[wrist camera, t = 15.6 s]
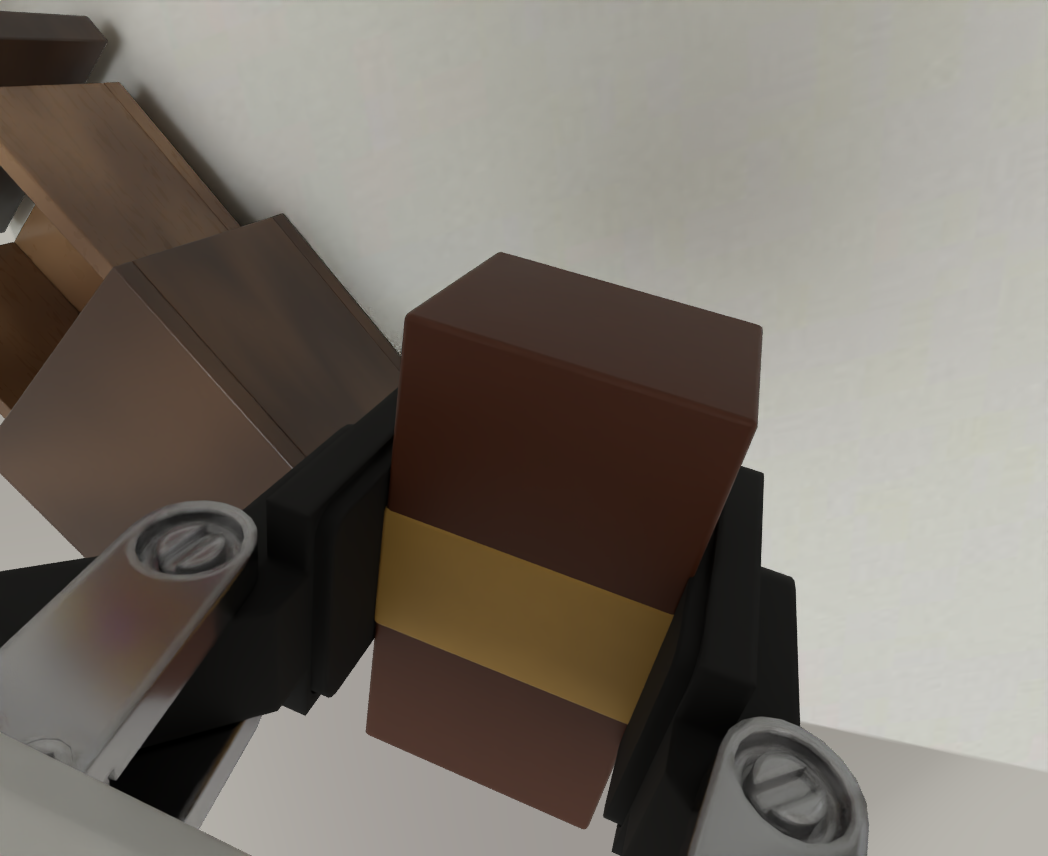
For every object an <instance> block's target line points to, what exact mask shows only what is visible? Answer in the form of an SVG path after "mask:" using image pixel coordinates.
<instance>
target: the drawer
mask: <svg viewBox="0 0 1048 856" xmlns="http://www.w3.org/2000/svg"><path fill="white" fill-rule="evenodd" d="M106 44H107V39H106V38H105V37H104V36H103V34H102V33H101V32H100V31H99V30H98V28H97V27H96V26H95V25H94V24H93V22H92V21H91V20H90V19H89V18H88V17H87V16H76V15H59V14H43V13H26V12H10V11H0V233H3V232H5V231H6V229H7V227H8V225H9V223H10V221H11V219H12V218H13V216H14V214H15V212H16V210H17V208H18V207H19V205H20V203H21V201H22V199H23V197H24V195H25V194H27V196H28V197H29V198H30V199H31V200H32V201H33V202H34V203H35V206H34V208H33V210H32V211H31V213H30V215H29V217H28V218H27V220H26V222H25V224H24V226H23V227H22V229H21V231H20V233H19V235H18V236H17V238H16V240H15V242H12V243H8V244H3V245H0V414H1V415H2V416H3V417H4V418H6V417H7V415H8V414H9V413H10V411H11V410H12V408H13V407H14V405H15V404H16V403H17V401H18V400H19V398H20V397H21V396H22V394H23V393H24V391H25V390H26V389H27V387H28V386H29V384H30V383H31V382H32V380H33V379H34V377H35V376H36V375H37V373H38V372H39V370H40V369H41V368H42V366H43V365H44V363H45V362H46V360H47V359H48V358H49V356H50V355H51V353H52V352H53V351H54V349H55V348H56V346H57V345H58V344H59V342H60V341H61V339H62V338H63V337H64V335H65V334H66V332H67V331H68V330H69V328H70V327H71V325H72V324H73V322H74V321H75V320H76V318H77V317H78V315H79V314H80V313H81V311H82V310H83V308H84V307H85V306H86V304H87V303H88V301H89V300H90V299H91V297H92V296H93V294H94V293H95V292H96V290H97V289H98V287H99V286H100V285H101V283H102V282H103V280H104V279H105V277H106V276H107V275H108V273H109V272H110V270H111V269H112V268H113V267H114V266H117V265H121V264H124V263H127V262H130V261H131V262H132V261H133V260H136V259H139V258H142V257H145V256H148V255H152V254H155V253H158V252H161V251H164V250H168V249H171V248H174V247H177V246H180V245H184V244H187V243H190V242H193V241H196V240H200V239H203V238H206V237H209V236H212V235H216V234H219V233H222V232H225V231H228V230H232V229H235V228H238V227H241V226H240V225H239V224H238V223H237V222H236V220H235V219H234V218H233V217H232V216H231V214H230V213H229V212H228V211H227V210H226V208H225V207H224V206H223V205H222V204H221V203H220V201H219V200H218V199H217V198H216V197H215V195H214V194H213V193H212V192H211V191H210V189H209V188H208V187H207V186H206V185H205V183H204V182H203V181H202V180H201V179H200V178H199V176H198V175H197V174H196V173H195V172H194V170H193V169H192V168H191V167H190V166H189V164H188V163H187V162H186V161H185V160H184V158H183V157H182V156H181V155H180V154H179V153H178V151H177V150H176V149H175V148H174V147H173V145H172V144H171V143H170V142H169V141H168V139H167V138H166V137H165V136H164V135H163V133H162V132H161V131H160V130H159V129H158V128H157V126H156V125H155V124H154V123H153V122H152V120H151V119H150V118H149V117H148V116H147V114H146V113H145V112H144V111H143V110H142V109H141V107H140V106H139V105H138V104H137V103H136V101H135V100H134V99H133V98H132V97H131V95H130V94H129V93H128V92H127V91H126V89H125V88H124V87H123V86H122V85H121V84H120V83H119V82H107V83H87V84H85V83H86V81H87V79H88V77H89V75H90V74H91V72H92V70H93V68H94V66H95V64H96V63H97V61H98V59H99V57H100V55H101V53H102V51H103V50H104V48H105V46H106Z"/></svg>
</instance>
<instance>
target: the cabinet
mask: <svg viewBox="0 0 1048 856" xmlns="http://www.w3.org/2000/svg"><path fill="white" fill-rule="evenodd" d="M400 364H401V356H400V355H399V354H398V353H397V352H396V350H395V349H394V348H393V347H392V346H391V344H390V343H389V342H388V341H387V339H386V338H385V337H384V336H383V335H382V333H381V332H380V331H379V330H378V329H377V327H376V326H375V325H374V324H373V322H372V321H371V320H370V319H369V318H368V316H367V315H366V314H365V313H364V312H363V310H362V309H361V308H360V307H359V305H358V304H357V303H356V302H355V301H354V299H353V298H352V297H351V296H350V294H349V293H348V292H347V291H346V290H345V288H344V287H343V286H342V285H341V284H340V282H339V281H338V280H337V279H336V277H335V276H334V275H333V274H332V273H331V271H330V270H329V269H328V268H327V267H326V265H325V264H324V263H323V262H322V260H321V259H320V258H319V257H318V256H317V254H316V253H315V252H314V251H313V250H312V248H311V247H310V246H309V245H308V243H307V242H306V241H305V240H304V239H303V237H302V236H301V235H300V234H299V232H298V231H297V230H296V229H295V228H294V226H293V225H292V224H291V223H290V222H289V220H288V219H287V218H286V217H285V215H284V214H280V215H276V216H273V217H270V218H267V219H264V220H260V221H257V222H254V223H251V224H248V225H244V226H241V227H238V228H235V229H232V230H228V231H225V232H222V233H219V234H216V235H212V236H209V237H206V238H203V239H200V240H196V241H193V242H190V243H187V244H184V245H180V246H177V247H174V248H171V249H168V250H164V251H161V252H158V253H155V254H152V255H148V256H145V257H142V258H139V259H136V260H133V261H132V262H131V261H130V262H127V263H124V264H121V265H117V266H114V267H113V268H112V269H111V270H110V272H109V273H108V275H107V276H106V277H105V279H104V280H103V282H102V283H101V285H100V286H99V287H98V289H97V290H96V292H95V293H94V294H93V296H92V297H91V299H90V300H89V301H88V303H87V304H86V306H85V307H84V308H83V310H82V311H81V313H80V314H79V315H78V317H77V318H76V320H75V321H74V322H73V324H72V325H71V327H70V328H69V330H68V331H67V332H66V334H65V335H64V337H63V338H62V339H61V341H60V342H59V344H58V345H57V346H56V348H55V349H54V351H53V352H52V353H51V355H50V356H49V358H48V359H47V360H46V362H45V363H44V365H43V366H42V368H41V369H40V370H39V372H38V373H37V375H36V376H35V377H34V379H33V380H32V382H31V383H30V384H29V386H28V387H27V389H26V390H25V391H24V393H23V394H22V396H21V397H20V398H19V400H18V401H17V403H16V404H15V405H14V407H13V408H12V410H11V411H10V413H9V414H8V415H7V417H6V418H5V420H4V421H3V423H2V424H1V425H0V473H1V475H2V476H3V477H5V479H7V480H8V482H10V484H11V485H12V486H13V487H14V488H15V489H17V491H18V492H19V493H21V494H22V496H24V497H25V498H26V500H28V501H29V502H30V503H31V504H32V505H33V506H34V507H35V508H36V509H37V510H38V511H39V512H40V513H41V514H42V515H43V516H44V517H45V518H46V519H47V520H48V521H49V522H50V523H51V524H52V525H53V526H54V527H55V528H56V529H57V530H58V531H59V532H60V533H61V534H62V535H63V536H64V537H65V538H66V539H67V540H68V541H69V542H70V543H71V544H72V545H73V546H74V547H75V548H76V549H77V550H78V551H79V552H80V553H81V554H82V555H83V556H84V557H85V558H89V557H95V556H99V555H100V554H101V553H102V552H103V551H104V550H105V549H107V548H108V547H109V546H110V545H111V544H112V543H113V542H114V541H115V540H116V539H117V538H118V537H119V536H120V535H121V534H123V533H124V532H125V531H126V530H127V529H128V528H129V527H130V526H131V525H132V524H134V523H135V522H136V521H138V520H139V519H141V518H142V517H143V516H145V515H146V514H148V513H150V512H152V511H155V510H157V509H159V508H162V507H164V506H167V505H171V504H176V503H180V502H185V501H202V500H207V501H214V502H221V503H226V504H229V505H231V506H234V507H236V508H239V509H241V510H243V509H244V508H246V507H247V506H248V505H249V504H250V503H252V502H253V501H254V500H255V499H256V498H258V497H259V496H260V495H261V494H262V493H264V492H265V491H266V490H267V489H268V488H270V487H271V486H272V485H273V484H274V483H276V482H277V481H278V480H279V479H280V478H282V477H283V476H284V475H285V474H286V473H288V472H289V471H290V470H291V469H292V468H294V467H295V466H296V465H297V464H298V463H300V462H301V461H302V460H303V459H304V458H306V457H307V456H308V455H309V454H310V453H312V452H313V451H314V450H315V449H316V448H318V447H319V446H320V445H321V444H322V443H324V442H325V441H326V440H327V439H328V438H330V437H331V436H332V435H333V434H334V433H336V432H337V431H338V430H339V429H340V428H342V427H344V426H345V425H347V424H355V423H356V422H358V421H359V420H360V419H361V418H362V417H364V416H365V415H366V414H367V413H368V412H369V411H371V410H372V409H373V408H374V407H375V406H376V405H378V404H379V403H380V402H381V401H382V400H384V399H385V398H386V397H387V396H388V395H389V394H391V393H392V392H393V391H394V390H395V389H396V388H398V385H399V374H400Z"/></svg>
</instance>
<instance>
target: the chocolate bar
mask: <svg viewBox="0 0 1048 856" xmlns="http://www.w3.org/2000/svg"><path fill="white" fill-rule="evenodd" d="M762 335H763V329H762V327H761V326H760V325H757V324H753V323H750V322H746V321H743V320H739V319H736V318H732V317H729V316H725V315H722V314H718V313H715V312H711V311H708V310H704V309H701V308H697V307H693V306H690V305H686V304H683V303H679V302H676V301H672V300H669V299H665V298H662V297H658V296H655V295H651V294H648V293H644V292H641V291H637V290H634V289H630V288H626V287H623V286H619V285H616V284H612V283H609V282H605V281H602V280H598V279H595V278H591V277H588V276H584V275H581V274H577V273H574V272H570V271H566V270H563V269H559V268H556V267H552V266H549V265H545V264H542V263H538V262H535V261H531V260H528V259H524V258H521V257H517V256H514V255H510V254H507V253H503V252H499V253H497V254H495V255H494V256H492V257H491V258H489V259H488V260H486V261H485V262H483V263H482V264H480V265H479V266H477V267H476V268H474V269H473V270H471V271H470V272H468V273H467V274H465V275H464V276H462V277H461V278H459V279H458V280H457V281H455V282H454V283H452V284H451V285H449V286H448V287H446V288H445V289H443V290H442V291H440V292H439V293H437V294H436V295H434V296H433V297H431V298H430V299H428V300H427V301H425V302H424V303H422V304H421V305H419V306H418V307H416V308H415V309H413V310H412V311H410V312H409V313H407V315H406V317H405V321H404V332H403V342H402V353H401V364H400V374H399V385H398V395H397V406H396V417H395V427H394V438H393V448H392V459H391V470H390V480H389V491H388V501H387V506H386V508H385V510H384V518H383V529H382V540H381V551H380V562H379V573H378V584H377V595H376V605H375V616H374V620H375V622H376V629H375V639H374V650H373V660H372V671H371V682H370V693H369V703H368V713H367V724H366V733H367V734H368V735H370V736H372V737H374V738H377V739H379V740H381V741H384V742H386V743H388V744H390V745H393V746H395V747H397V748H400V749H402V750H404V751H406V752H409V753H411V754H413V755H415V756H418V757H420V758H422V759H425V760H427V761H429V762H431V763H434V764H436V765H438V766H440V767H443V768H445V769H447V770H449V771H452V772H454V773H456V774H458V775H461V776H463V777H465V778H468V779H470V780H472V781H475V782H477V783H479V784H481V785H484V786H486V787H488V788H490V789H492V790H495V791H497V792H499V793H502V794H504V795H506V796H508V797H511V798H513V799H515V800H518V801H520V802H522V803H524V804H527V805H529V806H531V807H533V808H536V809H538V810H540V811H543V812H545V813H547V814H549V815H551V816H554V817H556V818H558V819H561V820H563V821H565V822H568V823H570V824H572V825H574V826H577V827H579V828H581V829H586V828H587V827H588V826H589V824H590V821H591V819H592V816H593V814H594V812H595V809H596V807H597V805H598V802H599V800H600V798H601V795H602V793H603V790H604V788H605V786H606V783H607V781H608V779H609V776H610V774H611V772H612V769H613V767H614V765H615V761H616V757H617V752H618V748H619V744H620V742H621V739H622V737H623V734H624V732H625V730H626V727H627V725H628V723H629V721H630V719H631V716H632V714H633V712H634V709H635V707H636V704H637V702H638V700H639V697H640V695H641V693H642V690H643V688H644V685H645V683H646V681H647V678H648V676H649V674H650V671H651V669H652V666H653V664H654V662H655V659H656V657H657V655H658V652H659V650H660V647H661V645H662V643H663V640H664V638H665V636H666V633H667V631H668V629H669V626H670V624H671V621H672V619H673V616H674V613H675V611H676V609H677V606H678V604H679V601H680V599H681V597H682V594H683V592H684V590H685V587H686V585H687V582H688V580H689V578H690V577H693V576H694V575H695V573H696V571H697V569H698V566H699V564H700V562H701V559H702V557H703V554H704V552H705V550H706V547H707V545H708V543H709V540H710V538H711V536H712V533H713V531H714V528H715V526H716V524H717V521H718V519H719V517H720V514H721V512H722V510H723V507H724V505H725V503H726V500H727V498H728V495H729V493H730V491H731V488H732V486H733V484H734V481H735V479H736V477H737V474H738V472H739V469H740V467H741V465H742V462H743V460H744V458H745V455H746V453H747V451H748V448H749V446H750V444H751V441H752V439H753V436H754V434H755V432H756V429H757V425H758V407H759V389H760V371H761V353H762Z"/></svg>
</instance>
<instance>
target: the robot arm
mask: <svg viewBox="0 0 1048 856" xmlns="http://www.w3.org/2000/svg"><path fill="white" fill-rule="evenodd" d="M397 395H398V388H396V389H395V390H394V391H393V392H392V393H391V394H389V395H388V396H387V397H386V398H385V399H384V400H382V401H381V402H380V403H379V404H378V405H376V406H375V407H374V408H373V409H372V410H371V411H369V412H368V413H367V414H366V415H365V416H364V417H362V418H361V419H360V420H359V421H358V422H356V423H355V424H347V425H345V426H344V427H342V428H340V429H339V430H338V431H337V432H336V433H334V434H333V435H332V436H331V437H330V438H328V439H327V440H326V441H325V442H324V443H322V444H321V445H320V446H319V447H318V448H316V449H315V450H314V451H313V452H312V453H310V454H309V455H308V456H307V457H306V458H304V459H303V460H302V461H301V462H300V463H298V464H297V465H296V466H295V467H294V468H292V469H291V470H290V471H289V472H288V473H286V474H285V475H284V476H283V477H282V478H280V479H279V480H278V481H277V482H276V483H274V484H273V485H272V486H271V487H270V488H268V489H267V490H266V491H265V492H264V493H262V494H261V495H260V496H259V497H258V498H256V499H255V500H254V501H253V502H252V503H250V504H249V505H248V506H247V507H246V508H244V509H243V510H241V509H239V508H236V507H234V506H231V505H229V504H226V503H221V502H214V501H207V500H202V501H185V502H180V503H176V504H171V505H167V506H164V507H162V508H159V509H157V510H155V511H152V512H150V513H148V514H146V515H145V516H143V517H142V518H141V519H139V520H138V521H136V522H135V523H134V524H132V525H131V526H130V527H129V528H128V529H127V530H126V531H125V532H124V533H123V534H121V535H120V536H119V537H118V538H117V539H116V540H115V541H114V542H113V543H112V544H111V545H110V546H109V547H108V548H107V549H105V550H104V551H103V552H102V553H101V554H100V555H99V556H95V557H89V558H83V559H77V560H70V561H63V562H57V563H51V564H44V565H38V566H32V567H25V568H19V569H13V570H6V571H1V572H0V856H251V855H249V854H247V853H245V852H243V851H241V850H239V849H237V848H235V847H233V846H231V845H229V844H227V843H225V842H223V841H221V840H219V839H217V838H215V837H213V836H211V835H209V834H206V833H204V832H203V831H201V830H199V828H200V826H201V825H202V823H203V821H204V819H205V818H206V816H207V814H208V812H209V811H210V809H211V807H212V806H213V804H214V802H215V800H216V798H217V797H218V795H219V793H220V791H221V790H222V788H223V786H224V785H225V783H226V781H227V779H228V778H229V776H230V774H231V772H232V771H233V768H234V767H235V765H236V764H237V762H238V760H239V758H240V757H241V755H242V753H243V751H244V749H245V748H246V746H247V744H248V742H249V741H250V739H251V737H252V736H253V734H254V732H255V730H256V728H257V727H258V724H259V721H260V719H261V716H262V715H264V714H268V713H271V712H275V711H278V710H279V708H280V707H281V706H285V707H287V708H289V709H292V710H294V711H296V712H298V713H301V714H303V715H306V714H307V713H308V712H309V710H310V709H311V707H312V706H313V705H314V703H315V702H316V701H317V699H318V698H319V696H320V695H324V696H326V697H328V698H329V697H332V696H333V695H334V694H335V693H336V692H337V690H338V689H339V688H340V686H341V685H342V684H343V682H344V681H345V679H346V678H347V677H348V675H349V674H350V672H351V671H352V669H353V668H354V667H355V665H356V664H357V662H358V661H359V659H360V658H361V657H362V655H363V654H364V652H365V651H366V649H367V648H368V647H369V645H370V644H371V642H372V641H373V640H374V638H375V629H376V622H375V620H374V616H375V605H376V595H377V584H378V573H379V562H380V551H381V540H382V529H383V518H384V510H385V508H386V506H387V501H388V491H389V480H390V470H391V459H392V448H393V438H394V427H395V417H396V406H397ZM763 489H764V473H761V472H758V471H755V470H752V469H749V468H746V467H743V466H741V467H740V469H739V472H738V474H737V477H736V479H735V481H734V484H733V486H732V488H731V491H730V493H729V495H728V498H727V500H726V503H725V505H724V507H723V510H722V512H721V514H720V517H719V519H718V521H717V524H716V526H715V528H714V531H713V533H712V536H711V538H710V540H709V543H708V545H707V547H706V550H705V552H704V554H703V557H702V559H701V562H700V564H699V566H698V569H697V571H696V573H695V575H694V576H693V577H690V578H689V580H688V582H687V585H686V587H685V590H684V592H683V594H682V597H681V599H680V601H679V604H678V606H677V609H676V611H675V613H674V616H673V619H672V621H671V624H670V626H669V629H668V631H667V633H666V636H665V638H664V640H663V643H662V645H661V647H660V650H659V652H658V655H657V657H656V659H655V662H654V664H653V666H652V669H651V671H650V674H649V676H648V678H647V681H646V683H645V685H644V688H643V690H642V693H641V695H640V697H639V700H638V702H637V704H636V707H635V709H634V712H633V714H632V716H631V719H630V721H629V723H628V725H627V727H626V730H625V732H624V734H623V737H622V739H621V742H620V744H619V748H618V752H617V757H616V761H615V765H614V770H613V774H612V778H611V782H610V787H609V791H608V795H607V800H606V804H605V808H604V814H603V816H604V818H606V819H608V820H611V821H613V822H615V823H617V829H616V834H615V838H614V843H613V848H612V852H613V853H616V854H618V855H620V856H867V848H868V832H869V822H868V813H867V804H866V801H865V798H864V796H863V794H862V791H861V789H860V787H859V784H858V782H857V780H856V778H855V777H854V775H853V774H852V773H851V771H850V770H849V768H848V767H847V766H846V764H845V763H844V761H843V760H842V759H841V758H840V757H839V756H838V755H837V754H836V753H835V752H834V751H833V750H832V749H831V748H830V747H829V746H828V745H826V743H824V742H823V741H822V740H821V739H819V738H818V737H816V736H814V735H813V734H811V733H810V732H808V731H807V730H805V729H804V728H802V727H800V708H799V678H798V647H797V617H796V588H795V582H794V580H793V578H792V577H790V576H787V575H784V574H781V573H778V572H775V571H773V570H770V569H767V568H764V567H761V546H762V518H763Z"/></svg>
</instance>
